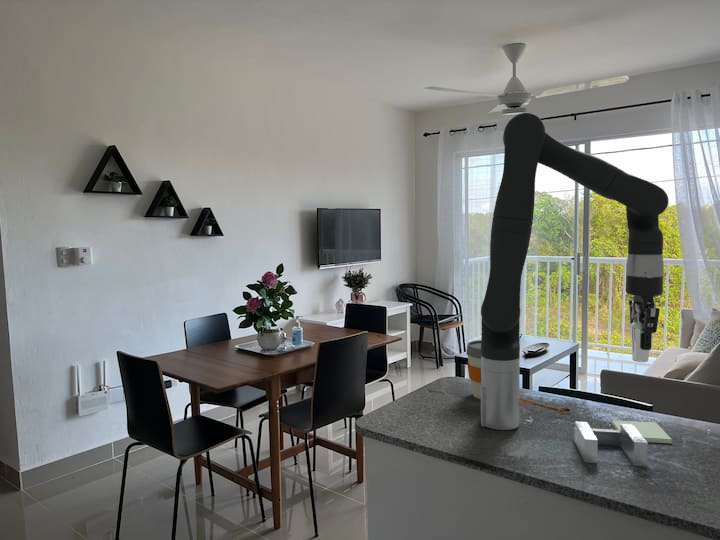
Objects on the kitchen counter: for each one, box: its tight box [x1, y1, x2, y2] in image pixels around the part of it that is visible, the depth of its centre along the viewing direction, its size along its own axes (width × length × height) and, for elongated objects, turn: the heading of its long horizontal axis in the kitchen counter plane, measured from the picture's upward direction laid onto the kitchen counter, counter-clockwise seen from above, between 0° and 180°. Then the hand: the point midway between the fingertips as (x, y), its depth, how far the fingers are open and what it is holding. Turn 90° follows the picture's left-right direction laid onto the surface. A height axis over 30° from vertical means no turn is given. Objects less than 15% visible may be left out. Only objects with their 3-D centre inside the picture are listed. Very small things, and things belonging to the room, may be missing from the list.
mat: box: [611, 419, 673, 444], centre depth 124 cm, size 10×10×1 cm
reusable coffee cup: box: [466, 339, 481, 400], centre depth 152 cm, size 13×13×15 cm
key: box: [519, 398, 573, 415], centre depth 142 cm, size 6×1×15 cm
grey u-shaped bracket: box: [573, 421, 649, 468], centre depth 114 cm, size 12×12×5 cm
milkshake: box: [629, 322, 650, 363], centre depth 122 cm, size 5×5×10 cm
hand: (642, 346), depth 122 cm, fingers closed on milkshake, 4 cm apart
